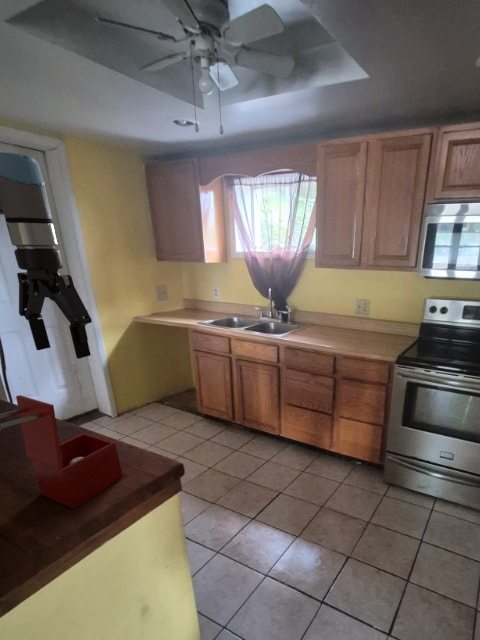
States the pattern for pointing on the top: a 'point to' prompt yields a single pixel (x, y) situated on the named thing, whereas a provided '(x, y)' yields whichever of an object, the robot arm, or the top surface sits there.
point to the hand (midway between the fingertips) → (63, 352)
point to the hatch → (37, 430)
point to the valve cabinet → (79, 470)
